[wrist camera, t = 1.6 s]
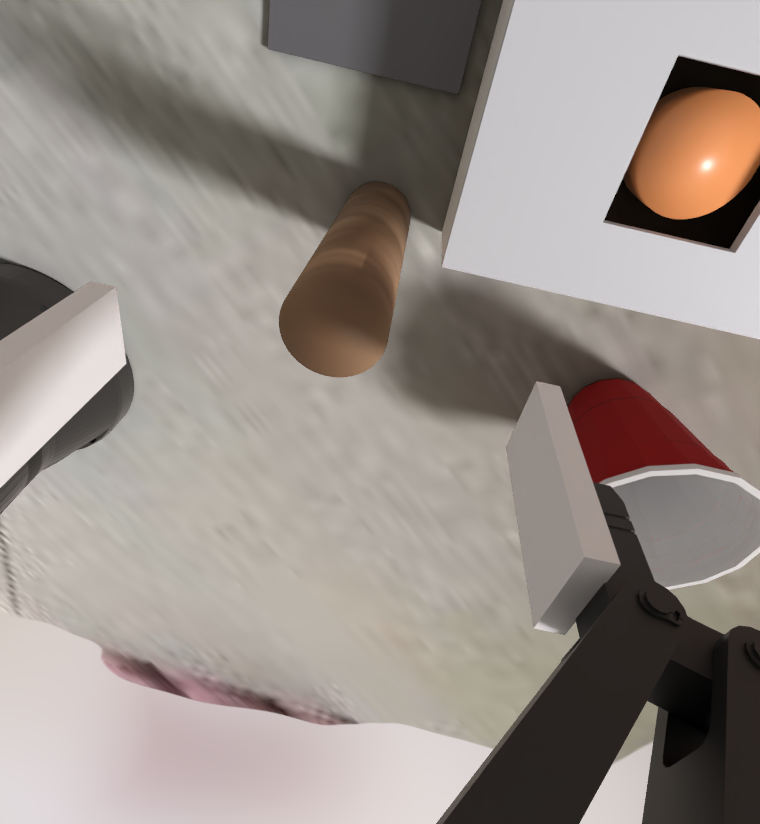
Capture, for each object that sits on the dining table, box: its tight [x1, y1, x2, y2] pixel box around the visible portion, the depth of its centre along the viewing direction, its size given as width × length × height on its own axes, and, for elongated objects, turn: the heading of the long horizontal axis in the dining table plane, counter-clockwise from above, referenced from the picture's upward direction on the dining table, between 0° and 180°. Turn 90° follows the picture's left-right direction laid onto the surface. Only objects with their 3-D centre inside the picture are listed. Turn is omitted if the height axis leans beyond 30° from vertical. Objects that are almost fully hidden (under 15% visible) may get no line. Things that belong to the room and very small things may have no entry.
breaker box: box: [442, 0, 760, 339], centre depth 24 cm, size 20×14×6 cm
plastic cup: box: [568, 378, 760, 590], centre depth 32 cm, size 11×11×12 cm
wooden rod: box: [279, 181, 410, 377], centre depth 24 cm, size 4×4×15 cm
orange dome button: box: [623, 87, 760, 219], centre depth 23 cm, size 5×5×2 cm
